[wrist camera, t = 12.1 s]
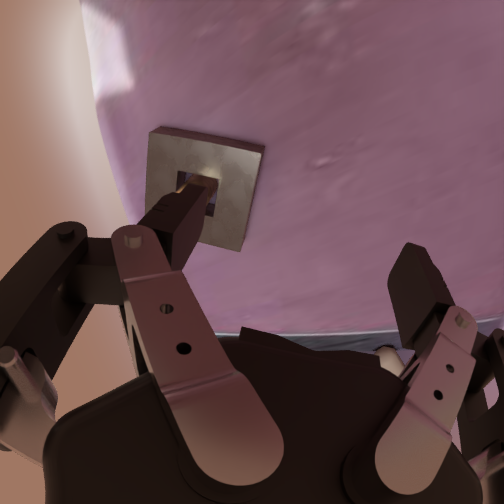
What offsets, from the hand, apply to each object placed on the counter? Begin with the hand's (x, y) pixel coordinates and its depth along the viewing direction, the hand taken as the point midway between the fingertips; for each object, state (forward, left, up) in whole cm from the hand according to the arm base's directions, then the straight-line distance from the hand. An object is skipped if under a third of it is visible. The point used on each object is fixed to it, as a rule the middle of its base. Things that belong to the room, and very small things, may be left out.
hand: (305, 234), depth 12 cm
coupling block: (+12, -11, -28) cm, 32 cm away
